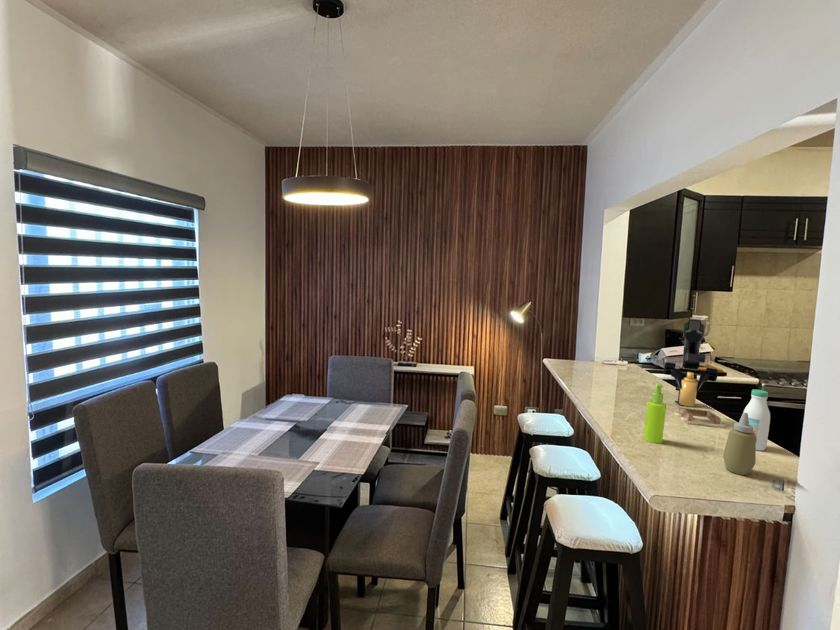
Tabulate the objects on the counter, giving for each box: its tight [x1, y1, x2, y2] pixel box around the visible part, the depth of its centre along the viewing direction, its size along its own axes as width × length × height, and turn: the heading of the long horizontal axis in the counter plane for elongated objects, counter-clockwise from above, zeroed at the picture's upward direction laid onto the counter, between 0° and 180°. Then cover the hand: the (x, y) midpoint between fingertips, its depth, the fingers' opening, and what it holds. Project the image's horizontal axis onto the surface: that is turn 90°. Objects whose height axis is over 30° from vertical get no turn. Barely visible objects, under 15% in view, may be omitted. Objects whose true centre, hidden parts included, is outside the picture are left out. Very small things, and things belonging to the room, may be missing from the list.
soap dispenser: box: [642, 382, 667, 444], centre depth 160 cm, size 6×7×20 cm
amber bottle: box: [679, 372, 699, 407], centre depth 183 cm, size 6×6×13 cm
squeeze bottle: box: [722, 412, 757, 476], centre depth 137 cm, size 8×8×18 cm
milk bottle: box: [742, 388, 771, 452], centre depth 159 cm, size 8×8×20 cm
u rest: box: [674, 407, 727, 429], centre depth 186 cm, size 14×14×3 cm
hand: (688, 389), depth 182 cm, fingers closed on amber bottle, 6 cm apart
